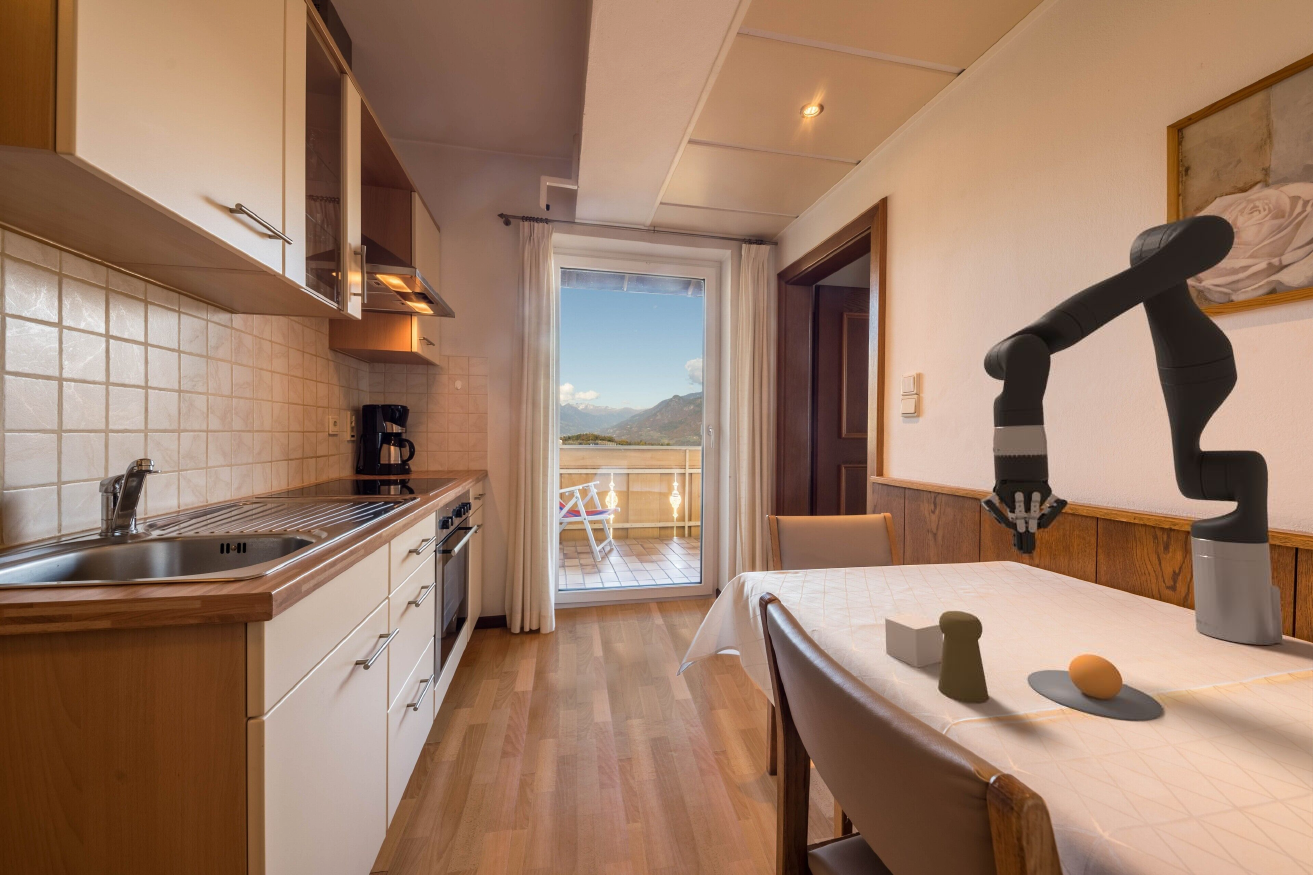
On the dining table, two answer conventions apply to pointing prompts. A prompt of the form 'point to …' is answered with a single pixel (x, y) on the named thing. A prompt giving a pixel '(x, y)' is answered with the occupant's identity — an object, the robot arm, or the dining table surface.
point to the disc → (1119, 707)
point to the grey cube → (914, 639)
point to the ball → (1095, 676)
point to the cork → (962, 658)
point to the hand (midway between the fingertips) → (1024, 553)
